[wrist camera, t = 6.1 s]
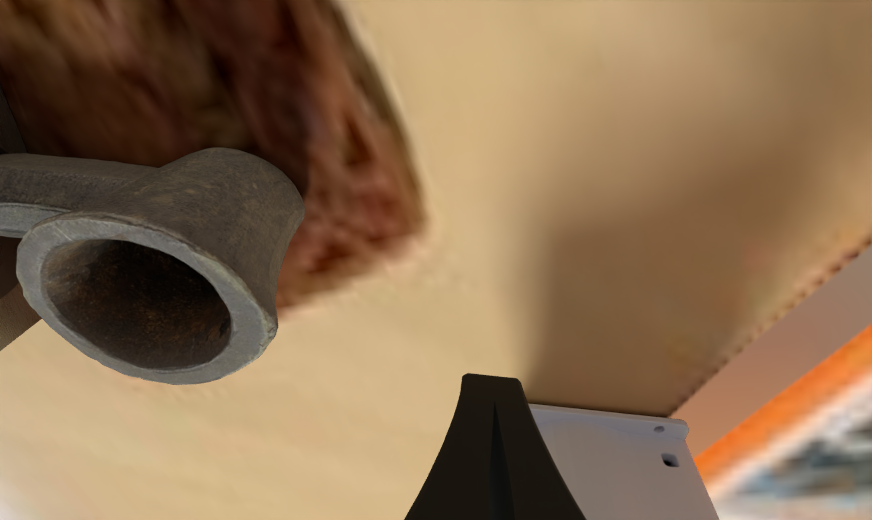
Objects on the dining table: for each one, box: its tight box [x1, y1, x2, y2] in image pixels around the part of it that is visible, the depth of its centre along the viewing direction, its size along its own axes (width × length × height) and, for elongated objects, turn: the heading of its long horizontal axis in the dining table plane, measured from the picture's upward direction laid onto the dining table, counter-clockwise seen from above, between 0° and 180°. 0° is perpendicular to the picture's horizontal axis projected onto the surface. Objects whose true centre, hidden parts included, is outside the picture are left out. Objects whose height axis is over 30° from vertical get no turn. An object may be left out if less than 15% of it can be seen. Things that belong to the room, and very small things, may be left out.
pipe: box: [0, 147, 305, 385], centre depth 17 cm, size 6×13×8 cm, turn 86°
